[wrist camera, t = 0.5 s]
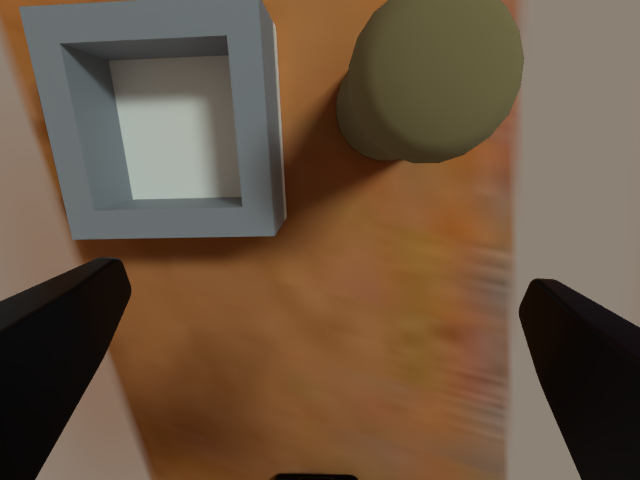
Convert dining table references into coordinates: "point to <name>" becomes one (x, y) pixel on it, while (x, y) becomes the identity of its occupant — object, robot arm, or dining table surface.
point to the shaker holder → (162, 116)
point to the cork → (430, 79)
